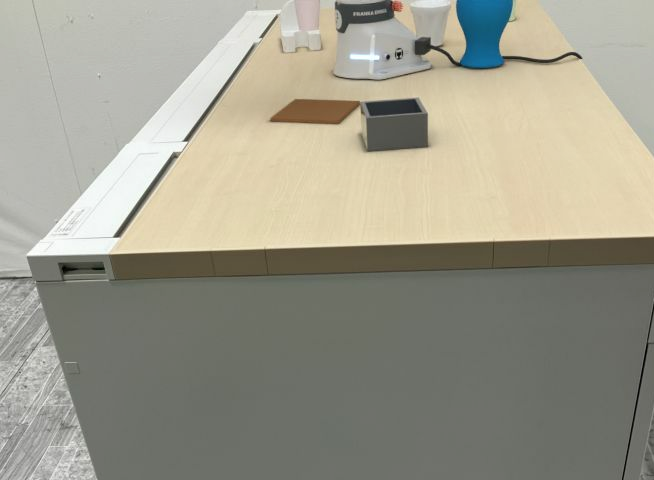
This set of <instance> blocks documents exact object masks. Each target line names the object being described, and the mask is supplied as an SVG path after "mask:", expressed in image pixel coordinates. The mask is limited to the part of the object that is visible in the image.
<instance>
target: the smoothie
mask: <svg viewBox="0 0 654 480" xmlns="http://www.w3.org/2000/svg"><path fill="white" fill-rule="evenodd" d="M294 4H295V9H296V15H297V21H298V26H299V30H300V31H315V30H318V29H319V30H320V11H321V0H294Z"/></svg>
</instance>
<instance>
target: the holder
mask: <svg viewBox="0 0 654 480" xmlns="http://www.w3.org/2000/svg"><path fill="white" fill-rule="evenodd" d="M359 105H360V107H359V108H360V127H361V130H360V131H361V136H362V138H363V142H364V145H365V149H366V151H367V152H376V151H391V150H392V151H393V150H402V149H415V148H428V147H429V113H428V111H427V110H426V108H425V106H424V104H423V102H422V101H421V99H420V98H419V97H417V96H416V97H405V98H392V99H391V98H390V99H377V100H367V101H360V104H359Z"/></svg>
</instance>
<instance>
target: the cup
mask: <svg viewBox="0 0 654 480" xmlns="http://www.w3.org/2000/svg"><path fill="white" fill-rule="evenodd" d="M451 8H452V2H451V1H450V0H416V1H413V2H411V3H410V4H409V9H410V13H411V14H412V18H413V25H414V30H415V35H416V36H417V37H418V39H419V38H421V37H431V45H433V46H436V47H439V48H441V47H442V46H443V44H444V39H445V33H446V29H447V24H448V19H449V14H450V11H451Z"/></svg>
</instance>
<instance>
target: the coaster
mask: <svg viewBox="0 0 654 480" xmlns="http://www.w3.org/2000/svg"><path fill="white" fill-rule="evenodd" d="M360 102H361V101H360V100H346V99H345V100H344V99H343V100H342V99H340V100H339V99H308V98H295V99H293V100H292V101H291V102H290V103H288V104H287V105H285V106H284V107H282V109H281V110H279V111H278V112H276V113H275V114H274V115H272V116H271V117H270V122H282V123H283V122H284V123H309V124H310V123H311V124H334V125H335V124H337V125H339V124H340V123H341V122H342V121H343V120H345V119H346V118H347V116H349V115H350V114H351V113H352V112H353V111H354V110H356V108H357V107H358V106H359V105H360Z"/></svg>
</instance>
